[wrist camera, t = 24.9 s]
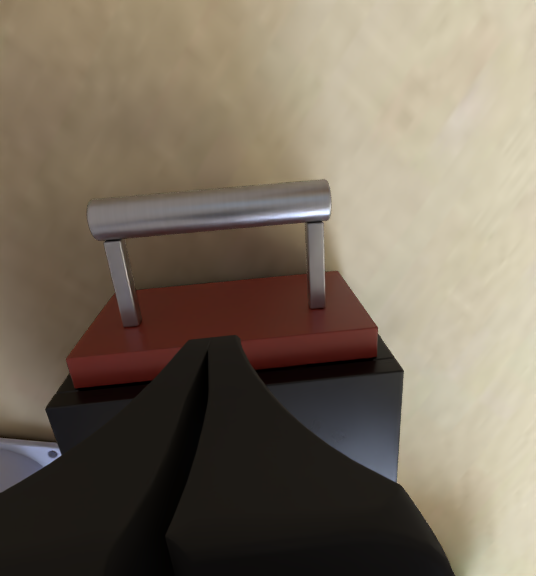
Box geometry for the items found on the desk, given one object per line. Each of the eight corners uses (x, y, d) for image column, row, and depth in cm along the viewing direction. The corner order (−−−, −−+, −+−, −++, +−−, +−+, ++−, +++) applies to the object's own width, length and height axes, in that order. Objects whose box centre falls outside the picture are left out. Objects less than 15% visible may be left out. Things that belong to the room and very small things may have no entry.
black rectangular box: (113, 308, 20) (43, 408, 13) (345, 285, 20) (404, 370, 13) (161, 506, 25) (131, 657, 18) (345, 485, 25) (388, 623, 18)
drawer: (90, 187, 17) (20, 215, 11) (337, 166, 17) (383, 184, 12) (162, 490, 23) (139, 600, 18) (339, 470, 23) (370, 571, 18)
